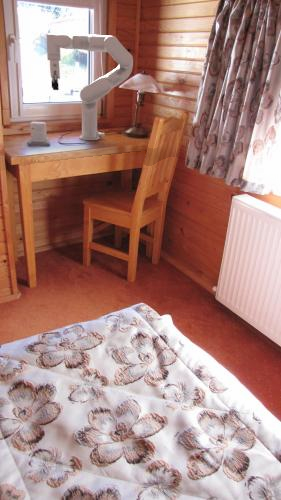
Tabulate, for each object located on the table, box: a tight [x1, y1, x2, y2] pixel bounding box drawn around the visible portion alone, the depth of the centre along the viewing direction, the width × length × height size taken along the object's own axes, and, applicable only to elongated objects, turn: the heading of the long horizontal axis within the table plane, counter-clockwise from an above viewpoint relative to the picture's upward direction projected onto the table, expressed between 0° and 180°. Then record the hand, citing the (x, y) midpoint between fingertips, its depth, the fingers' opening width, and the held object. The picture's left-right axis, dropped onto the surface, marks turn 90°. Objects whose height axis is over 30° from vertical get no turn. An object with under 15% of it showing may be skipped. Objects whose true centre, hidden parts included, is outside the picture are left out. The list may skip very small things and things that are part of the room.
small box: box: [29, 121, 48, 142], centre depth 229 cm, size 8×6×10 cm
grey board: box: [27, 138, 51, 147], centre depth 231 cm, size 12×12×2 cm
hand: (55, 89), depth 239 cm, fingers open, 9 cm apart
